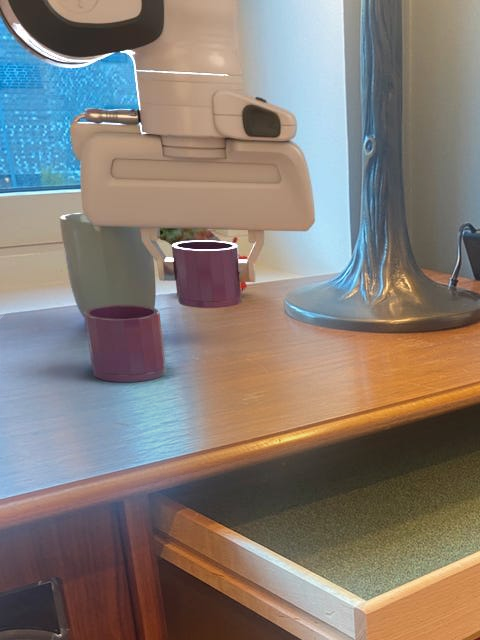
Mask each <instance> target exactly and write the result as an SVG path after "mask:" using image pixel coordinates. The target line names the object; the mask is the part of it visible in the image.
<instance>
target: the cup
mask: <svg viewBox="0 0 480 640" xmlns="http://www.w3.org/2000/svg"><path fill="white" fill-rule="evenodd" d="M59 225H60V233H61V239H62V246H63V251H64V258H65V264H66V269H67V274H68V278H69V284H70V288H71V293H72V294H73V299H74V301H75V304H76V307H77V308H78V310H79V311H78V312H80V314H81V315H82V317H83V318H84V312H85V311H86V310H89V309H92V308H95V307H101V306H109V305H139V306H147V307H151V308H155V306H156V297H157V296H156V294H157V293H156V273H155V272H156V271H155V259H154V258H153V256H152V255H151V253H150V252H149V250H148V249H147V248H146V246H145V245H144V243H143V242H142V238H141V230H140V227H103V226H94V225H93V224H92V223H91V222H90V221H89V220H88V219H87V218H86V217H85V215H84V213H83V212H77V213H70V214H64V215H61V216H60V218H59Z"/></svg>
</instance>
